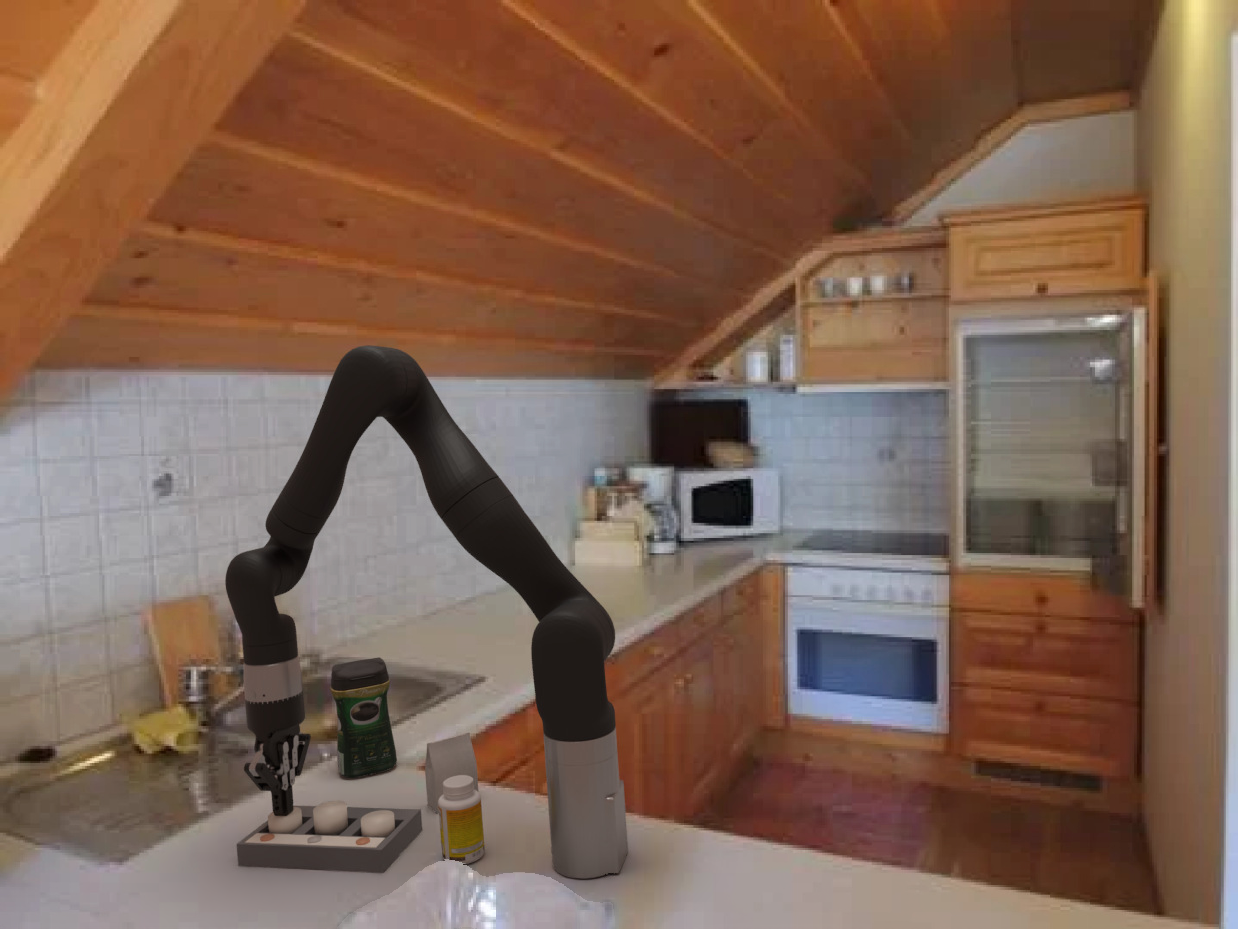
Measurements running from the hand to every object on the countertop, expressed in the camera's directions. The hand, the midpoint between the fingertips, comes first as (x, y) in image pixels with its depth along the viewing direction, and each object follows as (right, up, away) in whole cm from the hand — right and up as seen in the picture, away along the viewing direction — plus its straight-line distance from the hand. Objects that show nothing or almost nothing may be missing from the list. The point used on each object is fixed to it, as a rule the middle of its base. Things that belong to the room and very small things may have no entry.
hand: (283, 814), depth 125 cm
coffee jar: (+4, -3, +27) cm, 28 cm away
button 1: (0, -3, 0) cm, 3 cm away
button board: (+7, -4, -1) cm, 8 cm away
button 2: (+14, -2, -3) cm, 14 cm away
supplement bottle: (+26, -3, -6) cm, 27 cm away
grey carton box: (+22, -3, +11) cm, 24 cm away
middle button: (+7, -2, -1) cm, 7 cm away
